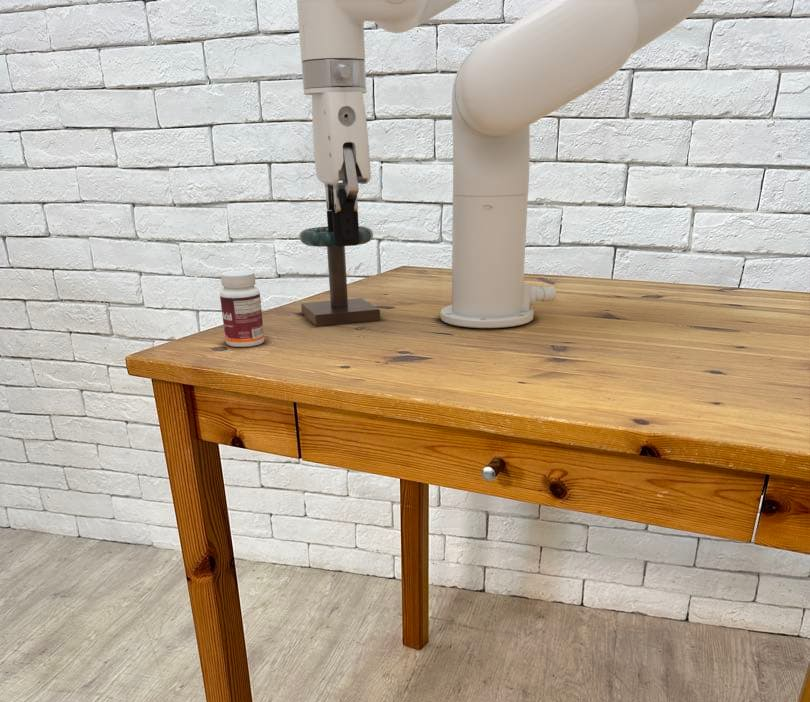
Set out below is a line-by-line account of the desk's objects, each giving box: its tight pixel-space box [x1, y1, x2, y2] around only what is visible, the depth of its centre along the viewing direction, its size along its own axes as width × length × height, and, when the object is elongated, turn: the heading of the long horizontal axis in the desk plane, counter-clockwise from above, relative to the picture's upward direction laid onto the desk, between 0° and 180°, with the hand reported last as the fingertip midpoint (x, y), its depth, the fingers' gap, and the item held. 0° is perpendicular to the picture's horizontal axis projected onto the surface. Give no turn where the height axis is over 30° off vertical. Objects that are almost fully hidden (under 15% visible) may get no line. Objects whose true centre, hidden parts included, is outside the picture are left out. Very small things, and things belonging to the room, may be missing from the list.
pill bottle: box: [219, 269, 265, 348], centre depth 93 cm, size 5×5×8 cm
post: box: [300, 229, 381, 327], centre depth 105 cm, size 9×9×12 cm
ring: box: [299, 225, 374, 248], centre depth 103 cm, size 10×10×2 cm
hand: (343, 243), depth 100 cm, fingers closed on ring, 2 cm apart
